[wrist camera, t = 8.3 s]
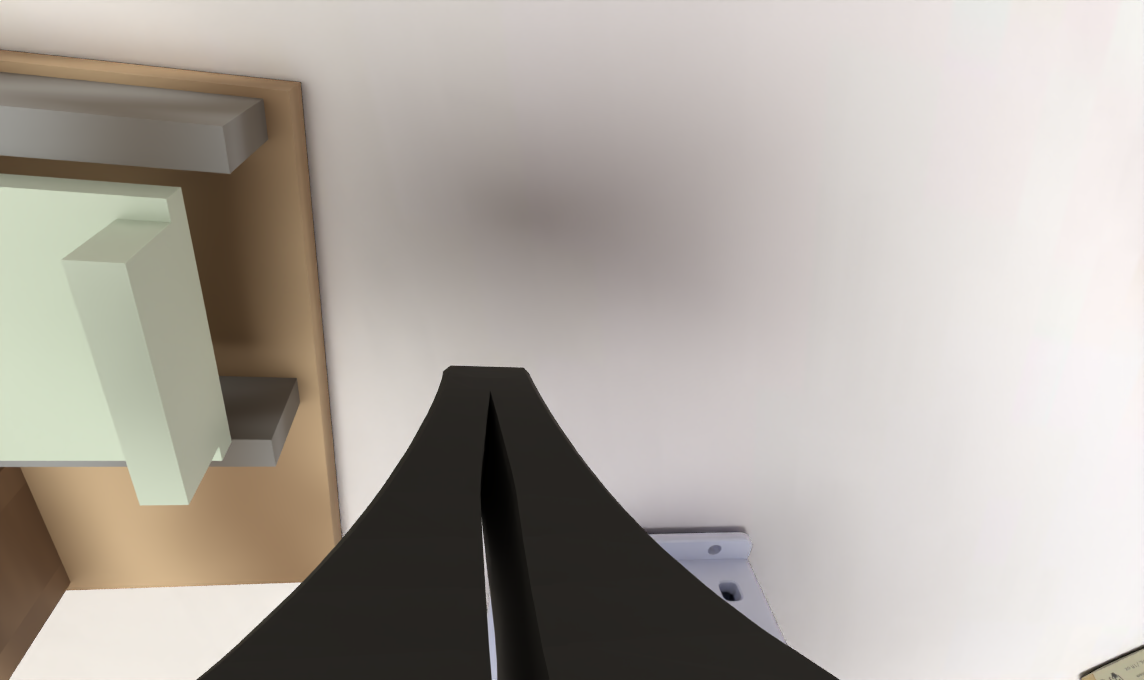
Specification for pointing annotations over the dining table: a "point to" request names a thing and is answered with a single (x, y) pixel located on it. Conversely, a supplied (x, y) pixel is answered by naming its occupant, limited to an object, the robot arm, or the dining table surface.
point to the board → (233, 307)
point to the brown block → (24, 570)
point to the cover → (106, 334)
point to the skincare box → (1121, 669)
